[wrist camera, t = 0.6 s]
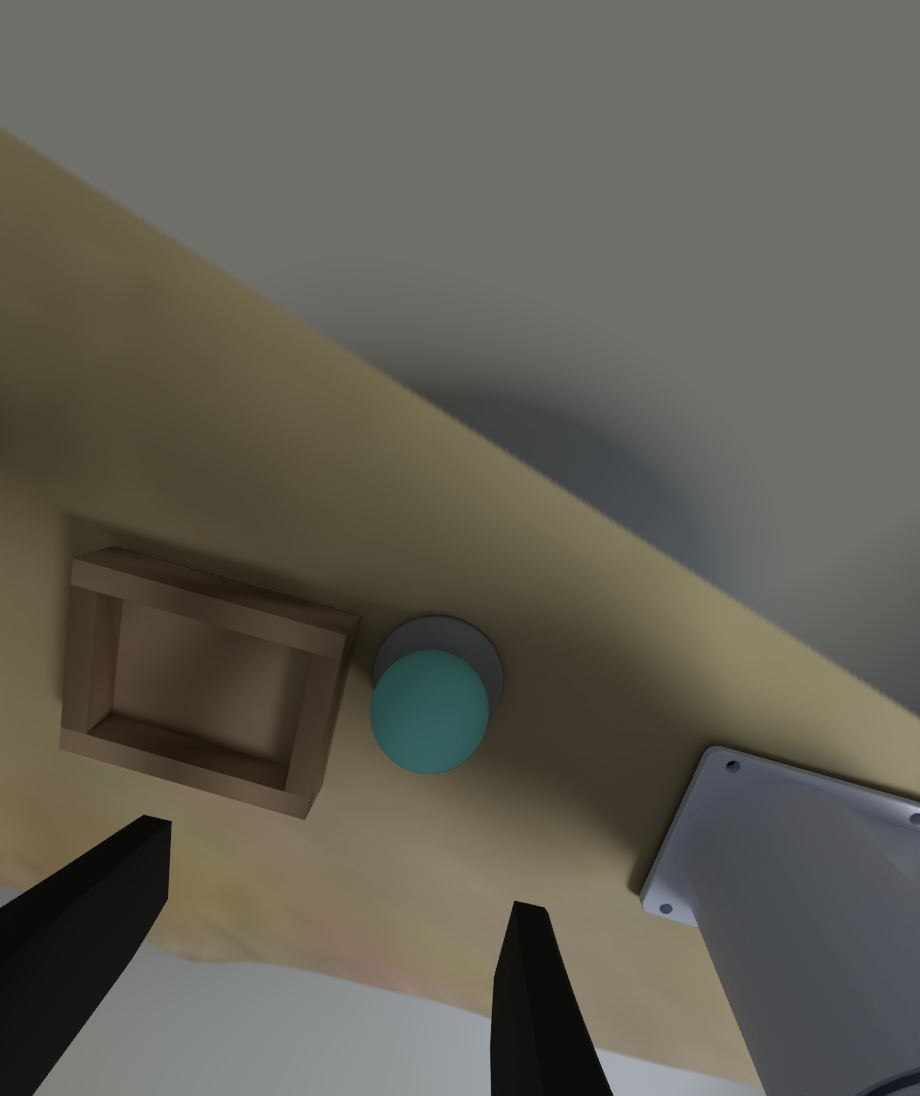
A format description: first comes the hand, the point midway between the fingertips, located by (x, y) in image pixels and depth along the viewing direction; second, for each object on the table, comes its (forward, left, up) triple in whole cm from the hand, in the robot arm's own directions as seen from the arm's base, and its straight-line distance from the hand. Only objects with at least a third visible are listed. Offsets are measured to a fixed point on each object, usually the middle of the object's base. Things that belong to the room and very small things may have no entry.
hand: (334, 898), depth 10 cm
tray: (+8, +2, -9) cm, 12 cm away
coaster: (-1, 0, -9) cm, 9 cm away
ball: (-1, 0, -9) cm, 9 cm away
